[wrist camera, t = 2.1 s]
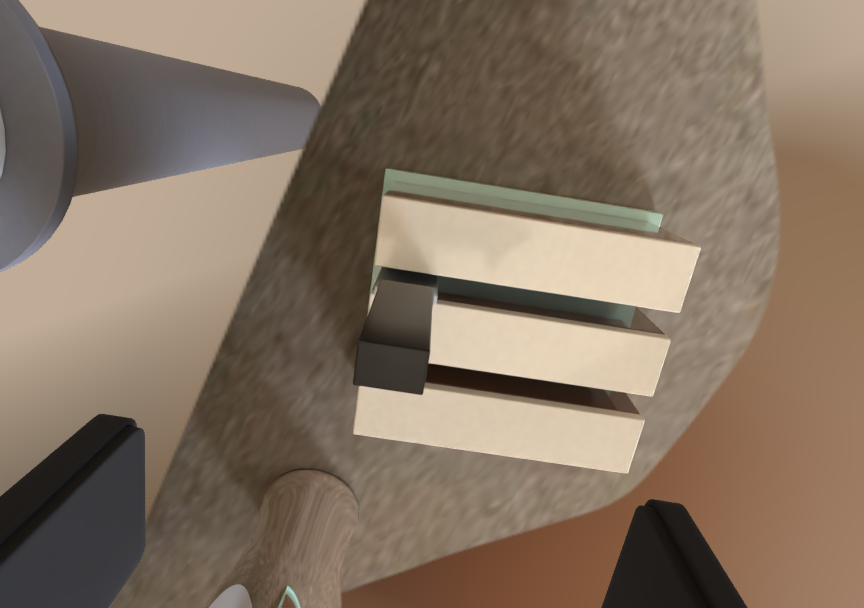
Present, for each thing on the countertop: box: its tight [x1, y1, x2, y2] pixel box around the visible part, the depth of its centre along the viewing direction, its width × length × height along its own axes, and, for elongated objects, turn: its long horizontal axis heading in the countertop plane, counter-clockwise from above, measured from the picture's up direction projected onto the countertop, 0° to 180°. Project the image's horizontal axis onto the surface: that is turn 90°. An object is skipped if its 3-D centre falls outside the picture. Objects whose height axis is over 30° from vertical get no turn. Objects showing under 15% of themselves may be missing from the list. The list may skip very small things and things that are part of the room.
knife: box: [353, 267, 438, 395], centre depth 21 cm, size 2×1×14 cm, turn 81°
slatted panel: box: [353, 168, 701, 473], centre depth 26 cm, size 14×12×6 cm
